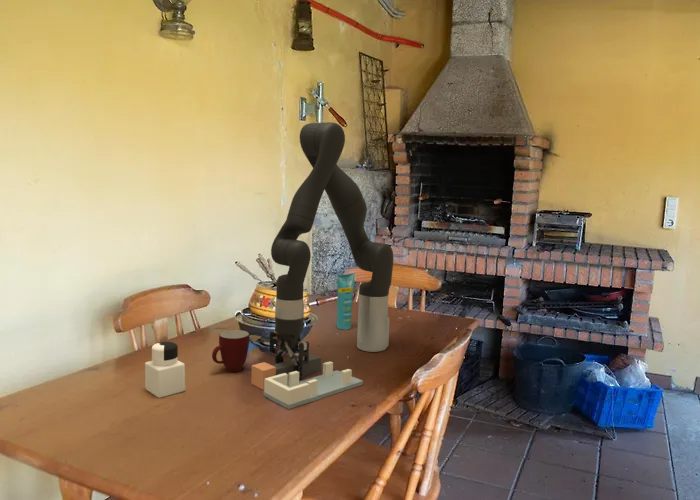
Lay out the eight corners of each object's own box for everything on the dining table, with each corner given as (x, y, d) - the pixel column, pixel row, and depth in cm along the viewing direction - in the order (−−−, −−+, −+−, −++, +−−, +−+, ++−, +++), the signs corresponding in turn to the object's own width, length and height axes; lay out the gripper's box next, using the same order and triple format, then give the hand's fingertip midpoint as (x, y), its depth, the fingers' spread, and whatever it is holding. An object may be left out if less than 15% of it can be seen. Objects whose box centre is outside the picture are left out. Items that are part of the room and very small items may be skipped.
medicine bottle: (171, 382, 152) (171, 337, 150) (185, 391, 147) (185, 344, 145) (145, 389, 147) (144, 343, 145) (158, 398, 142) (157, 350, 140)
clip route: (337, 373, 162) (337, 357, 162) (362, 384, 155) (363, 368, 155) (263, 395, 146) (263, 378, 145) (288, 409, 138) (289, 390, 138)
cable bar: (310, 367, 167) (311, 350, 166) (322, 372, 163) (323, 354, 163) (251, 383, 153) (251, 365, 152) (262, 389, 150) (263, 370, 149)
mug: (224, 379, 155) (224, 342, 154) (205, 371, 161) (205, 335, 159) (254, 369, 163) (255, 334, 162) (236, 362, 169) (236, 328, 167)
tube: (341, 331, 202) (342, 276, 199) (331, 328, 205) (333, 273, 202) (356, 327, 207) (358, 273, 204) (346, 324, 211) (348, 271, 208)
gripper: (318, 318, 153) (316, 378, 156) (284, 306, 163) (283, 364, 166) (295, 323, 148) (293, 385, 150) (261, 311, 158) (260, 369, 161)
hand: (288, 374), depth 158 cm, fingers open, 7 cm apart
